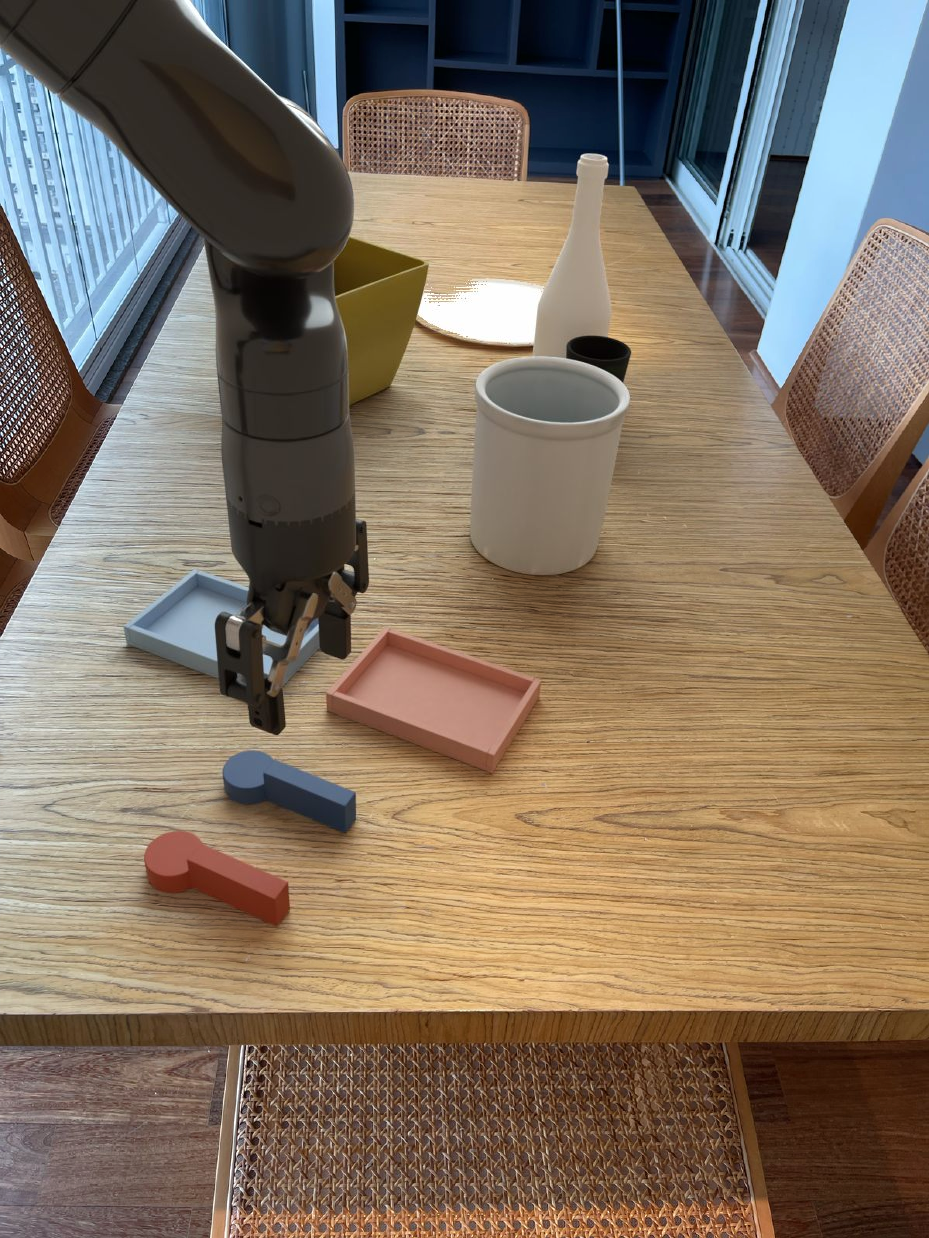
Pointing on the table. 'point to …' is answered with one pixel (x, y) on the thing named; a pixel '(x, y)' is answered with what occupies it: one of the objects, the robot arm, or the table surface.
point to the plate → (487, 312)
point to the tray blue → (202, 625)
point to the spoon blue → (288, 789)
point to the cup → (600, 353)
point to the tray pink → (435, 698)
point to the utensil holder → (543, 461)
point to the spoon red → (215, 876)
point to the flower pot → (376, 311)
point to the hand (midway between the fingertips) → (303, 689)
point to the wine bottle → (577, 271)
